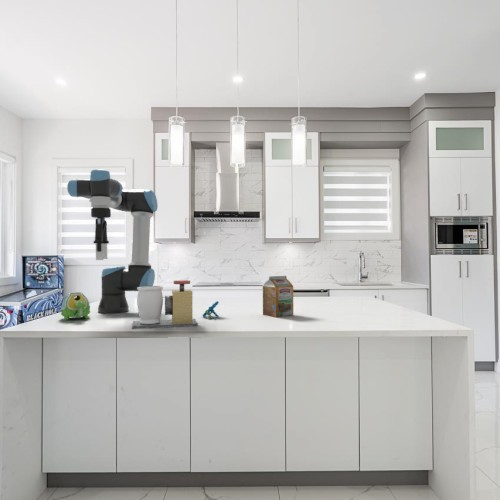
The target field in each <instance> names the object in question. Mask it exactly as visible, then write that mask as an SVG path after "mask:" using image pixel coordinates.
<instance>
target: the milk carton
mask: <svg viewBox="0 0 500 500" xmlns="http://www.w3.org/2000/svg"><path fill="white" fill-rule="evenodd" d="M262 315H263V316H265V317H267V316H268V317H272V318H283V317H285V318H286V317H292V316H293V317H294V285H293V284H292V283H291V281H290V280H289V279H287V275H273V276H271V275H270V276H268V280H266V281H265V282H264V283H263V284H262Z"/></svg>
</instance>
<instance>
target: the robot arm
mask: <svg viewBox="0 0 500 500" xmlns="http://www.w3.org/2000/svg"><path fill="white" fill-rule="evenodd" d="M89 176H90V178H89V179H88V178H87V179H78V178H76V179H70V180H68V182H67V186H66V187H67V188H66V189H67V193H68V195H69V196H71V197H73V198H85V199H88V200H89V202H90V207H91V209H90V213H91V214H90V216H91V217H92V218H95V224H94V225H95V228H94V229H95V231H94V233H95V234H94V240H93V244H95V260H96V261H104V260H107V259H108V244H109V243H110V241H109V240H108V231H107V229H108V227H107V226H108V225H107V224H108V223H107V220H106V218H107V219H108V218H111V217H112V215H111V211H112V210H111V209H113V210H117V211H119V212H120V211H121V212H128V213H130V215H131V216H132V217H133V222H132V226H133V227H132V244H131V246H132V248H131V262H130V263H129V264H128V266H127V268H126V266H123V265H120V266H114V267H105V268H103V269H102V271H101V277H100V278H101V298H100V301H99V305H98V307H97V312H98V313H101V314H115V313H118V314H119V313H125V312H129V307H130V306H129V303H128V301H127V297H126V292H139V290H137V287H141V286H154V284H155V279H156V274H155V270H154V269H153V268H152V265H151V263H149V257H150V236H151V234H150V233H151V218H152V217H153V216H154V213H156V212H157V211H158V206H159V205H158V198H157V196H156V194H155V192H154V191H153V190H152V189H123V185H122V184H121V183H120V182H119V181H118V180H116V179H113V178H111V174H110V171H109V170H107V169H101V168H100V169H99V168H98V169H93V170H90V175H89Z"/></svg>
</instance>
